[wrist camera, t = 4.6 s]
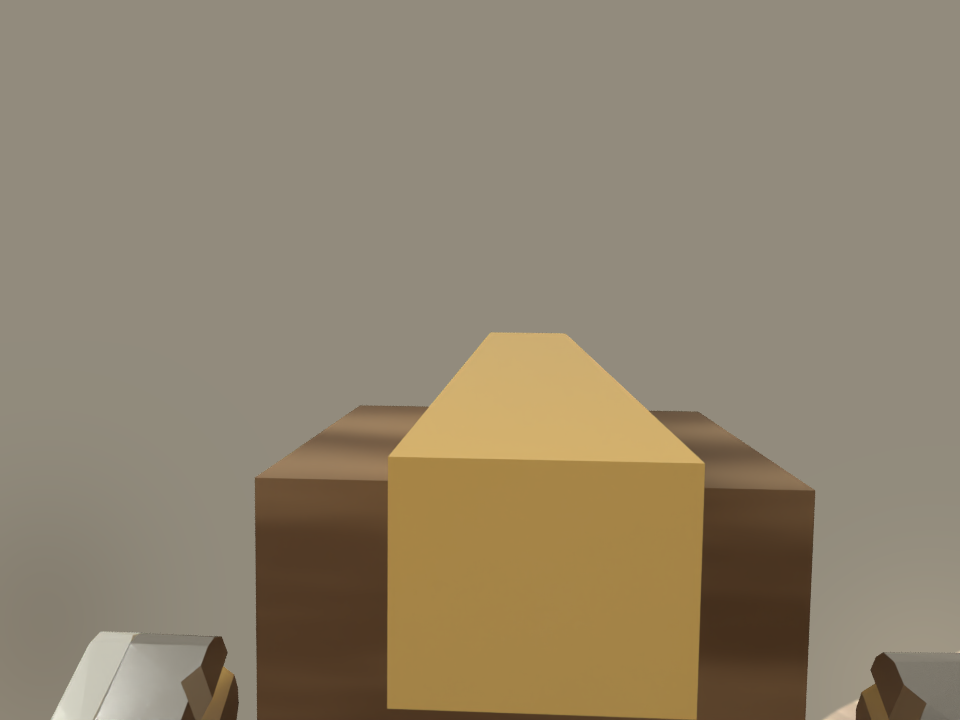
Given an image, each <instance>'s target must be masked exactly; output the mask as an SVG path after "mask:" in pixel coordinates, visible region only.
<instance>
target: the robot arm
mask: <svg viewBox="0 0 960 720" xmlns="http://www.w3.org/2000/svg"><path fill="white" fill-rule="evenodd" d="M226 656H227V650H226V647H225V644H224V642H223V639H222V637H220V636H219V637H218V636H197V635H173V634H150V633H149V634H148V633H132V632H131V633H130V632H100V633H99V634H98V635H97V636H96V637H95V638H94V639H93V640H92V642H91V643H90V644H89V645H88V647H87V649H86V651H85V653H84V655H83V657H82V659H81V661H80V663H79V665H78V667H77V669H76V671H75V673H74V675H73V677H72V679H71V681H70V683H69V685H68V687H67V689H66V691H65V693H64V695H63V697H62V699H61V701H60V703H59V705H58V707H57V709H56V711H55V713H54V715H53V717H52V719H51V720H236V719H237V711H238V703H239V702H238V687H237V683H236V680H235V676H234V674H233V673H231V672H230V671H229V670H227V669H226V668H225V667H223V665H224V662H225V659H226ZM871 672H872V675H873V678H874V680H875V684H874V685H872V686H871V687H869V688H867V689H866V690H864V691H863V692H862V693H861V696H860V699H859V702H858V705H857V708H856V720H960V653H908V652H907V653H906V652H905V653H903V652H901V653H900V652H896V653H895V652H883V653H881V654H880V655H878V656H877V657H876V658H875V661H874V663H873V665H872V668H871Z"/></svg>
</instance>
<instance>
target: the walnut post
mask: <svg viewBox="0 0 960 720" xmlns="http://www.w3.org/2000/svg"><path fill="white" fill-rule="evenodd" d="M428 408H429V407H415V406H359V407H357V408H356V409H354V410H353V411H351V412H350V413H348V414H347V415H345V416H344V417H343V418H341V419H340V420H338V421H337V422H335V423H334V424H332V425H331V426H329V427H328V428H327V429H325V430H324V431H322V432H321V433H319V434H318V435H316V436H315V437H313V438H312V439H311V440H309V441H308V442H306V443H305V444H303V445H302V446H300V447H299V448H298V449H296V450H295V451H293V452H292V453H290V454H289V455H287V456H286V457H284V458H283V459H282V460H280V461H279V462H277V463H276V464H274V465H273V466H271V467H270V468H268V469H267V470H266V471H264V472H263V473H261V474H260V475H258V476H257V477H255V529H256V530H255V532H256V533H255V536H256V640H257V641H256V642H257V643H256V644H257V720H689V719H661V718H633V717H606V716H578V715H550V714H523V713H495V712H467V711H439V710H412V709H387V610H388V456H389V455H390V454H391V452H392V451H393V450H394V449H395V448H396V446H397V445H398V444H399V443H400V442H401V440H402V439H403V438H404V437H405V436H406V434H407V433H408V432H409V431H410V429H411V428H412V427H413V426H414V425H415V423H416V422H417V421H418V420H419V419H420V417H421V416H422V415H423V414H424V413H425V411H426V410H427V409H428ZM649 412H650V413H651V414H652V415H654V416H655V417H656V418H657V419H658V420H659V421H660V422H661V423H662V424H663V425H664V426H665V427H666V428H667V429H669V430H670V431H671V432H672V433H673V434H674V435H675V436H676V437H677V438H678V439H679V440H680V441H681V442H683V443H684V444H685V445H686V446H687V447H688V448H689V449H690V450H691V451H692V452H693V453H694V454H695V455H696V456H698V457H699V458H700V459H701V460H702V461H703V462H704V463H705V481H704V511H703V541H702V572H701V602H700V632H699V662H698V693H697V720H805V713H806V690H807V667H808V645H809V622H810V598H811V574H812V553H813V529H814V507H815V490H814V489H812V488H811V487H809V486H808V485H806V484H805V483H803V482H802V481H800V480H799V479H797V478H796V477H794V476H793V475H791V474H790V473H788V472H787V471H785V470H784V469H782V468H781V467H779V466H778V465H777V464H775V463H774V462H772V461H771V460H769V459H767V458H766V457H764V456H763V455H761V454H760V453H759V452H757V451H755V450H754V449H753V448H751V447H750V446H748V445H747V444H745V443H744V442H742V441H741V440H739V439H738V438H736V437H735V436H733V435H732V434H730V433H729V432H727V431H726V430H724V429H723V428H722V427H720V426H719V425H717V424H715V423H714V422H713V421H711V420H710V419H708V418H707V417H705V416H704V415H702V414H701V413H699V412H687V411H684V412H683V411H649Z"/></svg>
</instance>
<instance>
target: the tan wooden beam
mask: <svg viewBox="0 0 960 720" xmlns="http://www.w3.org/2000/svg"><path fill="white" fill-rule="evenodd" d="M704 481H705V463H704V462H703V461H702V460H701V459H700V458H699V457H698V456H696V455H695V454H694V453H693V452H692V451H691V450H690V449H689V448H688V447H687V446H686V445H685V444H684V443H683V442H681V441H680V440H679V439H678V438H677V437H676V436H675V435H674V434H673V433H672V432H671V431H670V430H669V429H667V428H666V427H665V426H664V425H663V424H662V423H661V422H660V421H659V420H658V419H657V418H656V417H655V416H654V415H652V414H651V413H650V412H649V411H648V410H647V409H646V408H645V407H644V406H643V405H642V404H641V403H639V402H638V401H637V400H636V399H635V398H634V397H633V396H632V395H631V394H630V393H629V392H628V391H627V390H626V389H625V388H623V387H622V386H621V385H620V384H619V383H618V382H617V381H616V380H615V379H614V378H613V377H612V376H611V375H609V374H608V373H607V372H606V371H605V370H604V369H603V368H602V367H601V366H600V365H599V364H598V363H597V362H595V361H594V360H593V359H592V358H591V357H590V356H589V355H588V354H587V353H586V352H585V351H584V350H583V349H582V348H581V347H579V346H578V345H577V344H576V343H575V342H574V341H573V340H572V339H571V338H570V337H569V336H568V335H567V334H558V333H557V334H556V333H553V334H552V333H490V334H489V335H488V336H487V337H486V339H485V340H484V341H483V342H482V343H481V345H480V346H479V347H478V348H477V350H476V351H475V352H474V353H473V354H472V356H471V357H470V358H469V359H468V360H467V362H466V363H465V364H464V365H463V366H462V368H461V369H460V370H459V371H458V373H457V374H456V375H455V376H454V378H453V379H452V380H451V381H450V382H449V383H448V385H447V386H446V387H445V389H444V390H443V391H442V392H441V393H440V394H439V396H438V397H437V398H436V399H435V400H434V402H433V403H432V404H431V405H430V406H429V408H428V409H427V410H426V411H425V413H424V414H423V415H422V416H421V417H420V419H419V420H418V421H417V422H416V423H415V425H414V426H413V427H412V428H411V429H410V431H409V432H408V433H407V434H406V436H405V437H404V438H403V439H402V440H401V442H400V443H399V444H398V445H397V446H396V448H395V449H394V450H393V451H392V452H391V454H390V455H389V456H388V610H387V709H412V710H439V711H467V712H495V713H523V714H550V715H578V716H606V717H633V718H661V719H689V720H697V693H698V662H699V632H700V602H701V572H702V541H703V511H704Z"/></svg>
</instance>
